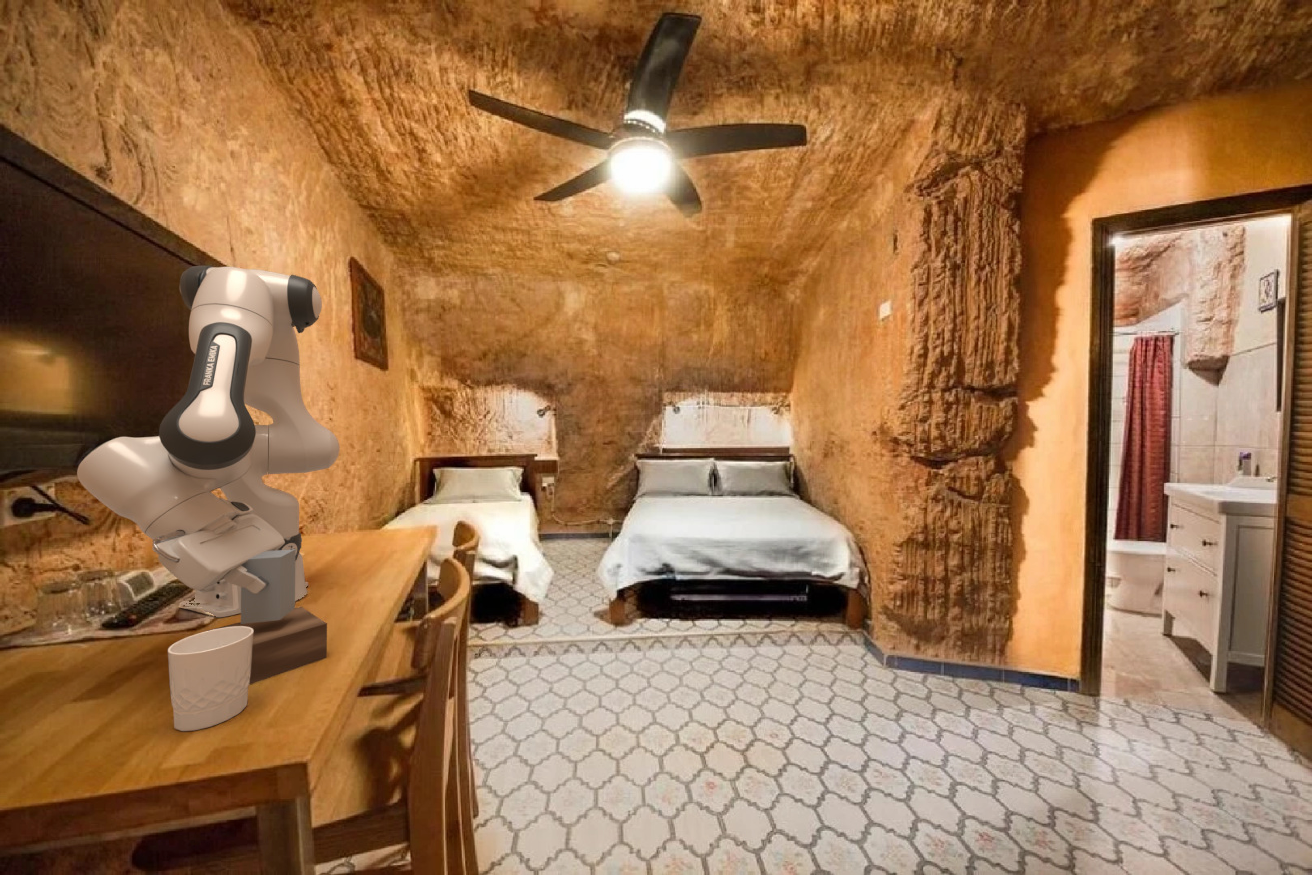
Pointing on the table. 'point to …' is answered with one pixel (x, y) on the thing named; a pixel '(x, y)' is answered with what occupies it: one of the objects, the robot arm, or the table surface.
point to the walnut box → (286, 643)
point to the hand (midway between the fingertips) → (273, 582)
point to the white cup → (210, 676)
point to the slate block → (270, 587)
